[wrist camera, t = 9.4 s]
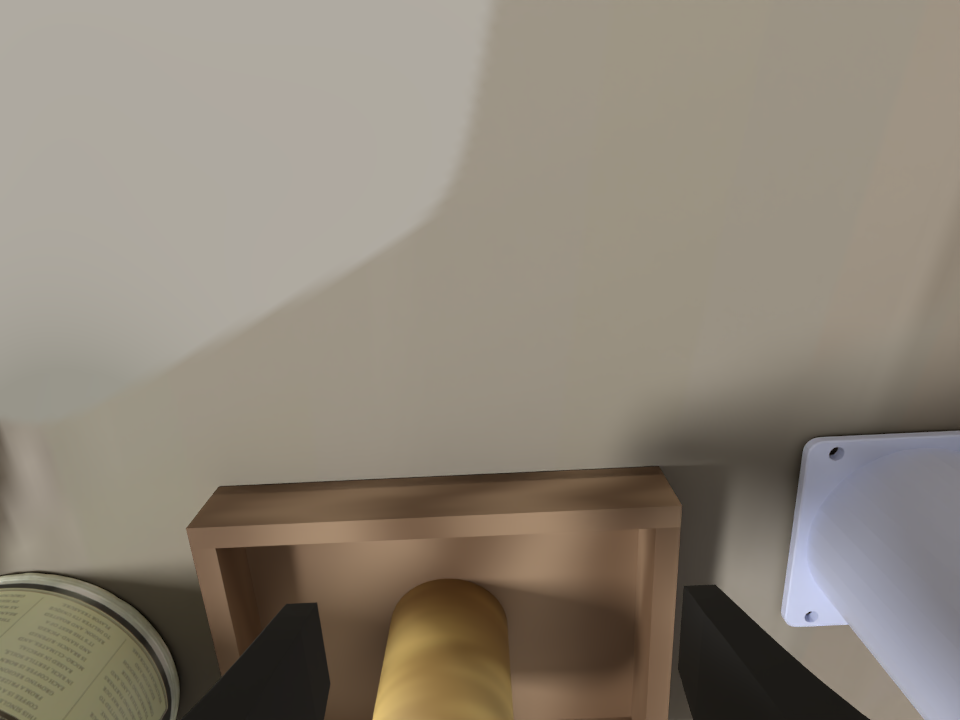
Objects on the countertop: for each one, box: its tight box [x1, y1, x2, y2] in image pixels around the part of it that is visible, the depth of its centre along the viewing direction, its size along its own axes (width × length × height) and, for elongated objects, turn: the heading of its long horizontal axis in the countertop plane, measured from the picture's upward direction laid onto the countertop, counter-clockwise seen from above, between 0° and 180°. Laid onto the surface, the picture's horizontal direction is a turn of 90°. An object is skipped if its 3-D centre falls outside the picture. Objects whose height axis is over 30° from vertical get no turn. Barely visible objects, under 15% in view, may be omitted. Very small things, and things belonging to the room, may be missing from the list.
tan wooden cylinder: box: [372, 579, 514, 720], centre depth 20 cm, size 4×4×6 cm
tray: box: [186, 466, 682, 720], centre depth 23 cm, size 16×12×3 cm
